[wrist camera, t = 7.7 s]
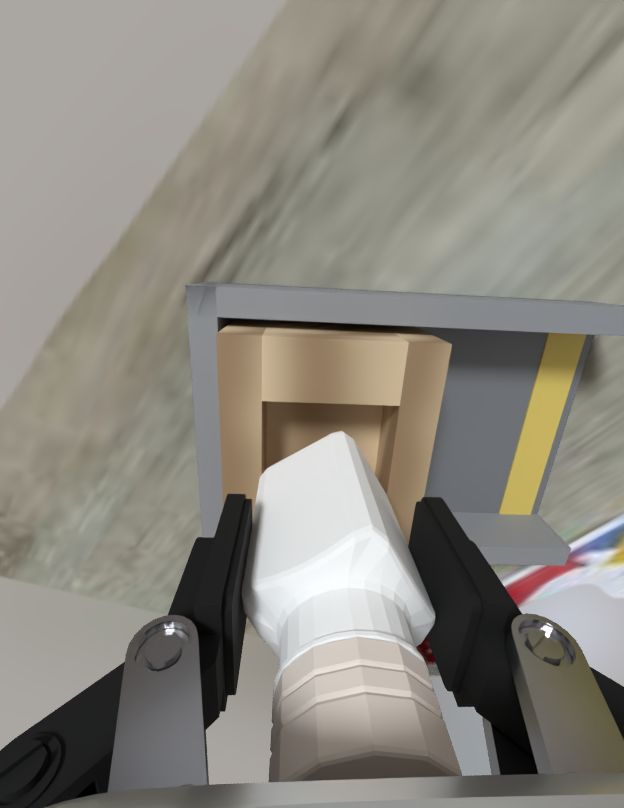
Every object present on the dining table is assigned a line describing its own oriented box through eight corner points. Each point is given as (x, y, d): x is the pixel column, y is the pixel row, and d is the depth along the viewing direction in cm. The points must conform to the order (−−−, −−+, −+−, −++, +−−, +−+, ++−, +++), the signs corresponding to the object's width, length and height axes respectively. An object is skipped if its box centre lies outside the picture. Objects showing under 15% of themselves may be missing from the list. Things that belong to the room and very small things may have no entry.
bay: (589, 301, 19) (660, 309, 15) (523, 519, 24) (564, 565, 20) (208, 282, 18) (185, 285, 14) (219, 513, 23) (204, 561, 19)
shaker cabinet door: (416, 327, 18) (452, 344, 14) (389, 507, 22) (411, 564, 18) (235, 318, 18) (215, 333, 13) (239, 504, 21) (225, 562, 17)
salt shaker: (343, 419, 14) (436, 697, 5) (388, 495, 15) (528, 827, 6) (255, 467, 14) (188, 798, 5) (305, 537, 15) (321, 897, 7)
